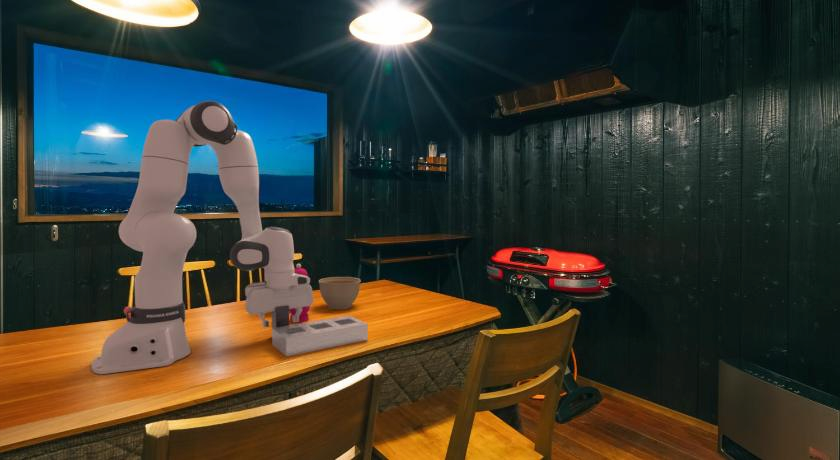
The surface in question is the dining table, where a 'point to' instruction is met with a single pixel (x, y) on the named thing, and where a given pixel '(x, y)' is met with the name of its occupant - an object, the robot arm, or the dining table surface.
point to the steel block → (280, 316)
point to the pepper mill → (303, 315)
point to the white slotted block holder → (318, 335)
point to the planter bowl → (339, 291)
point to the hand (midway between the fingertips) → (280, 323)
